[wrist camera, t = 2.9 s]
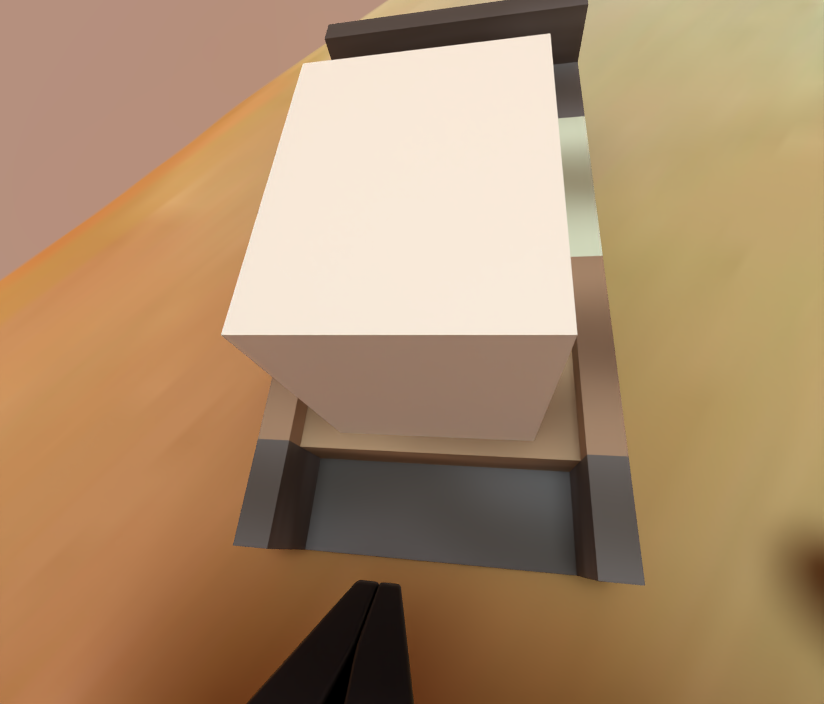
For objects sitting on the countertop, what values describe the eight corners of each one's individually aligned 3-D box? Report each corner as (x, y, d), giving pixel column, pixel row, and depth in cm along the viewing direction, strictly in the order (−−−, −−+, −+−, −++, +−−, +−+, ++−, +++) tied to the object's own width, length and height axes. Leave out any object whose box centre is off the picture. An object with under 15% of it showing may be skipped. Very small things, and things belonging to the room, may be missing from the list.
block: (533, 441, 15) (577, 335, 8) (340, 432, 16) (221, 335, 9) (526, 234, 18) (550, 33, 11) (370, 241, 20) (303, 63, 12)
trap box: (611, 578, 15) (682, 593, 9) (280, 546, 17) (183, 544, 12) (564, 111, 25) (585, -11, 19) (360, 129, 27) (328, 24, 22)
